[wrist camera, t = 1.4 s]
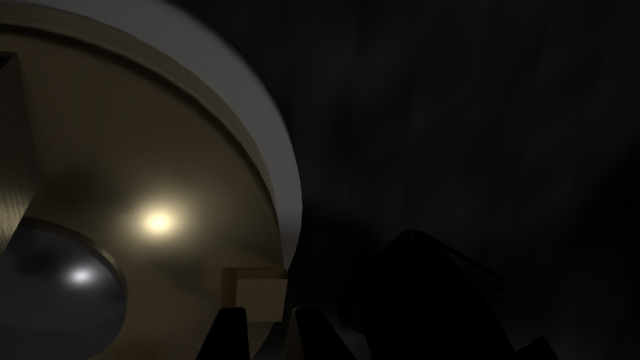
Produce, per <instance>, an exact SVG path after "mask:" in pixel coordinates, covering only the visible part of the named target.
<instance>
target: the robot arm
mask: <svg viewBox="0 0 640 360" xmlns="http://www.w3.org/2000/svg"><path fill="white" fill-rule="evenodd" d="M421 244H424V245H423V246H420V245H421ZM506 288H507V285H506V283H505V282H504V280H503V279H502V278H501V277H500V276H498V275H496V274H494V273H493V272H491V271H489V270H487V269H486V268H484V267H482V266H481V265H479V264H477V263H475V262H474V261H472V260H470V259H468V258H467V257H465V256H463V255H462V254H460V253H458V252H456V251H455V250H453V249H451V248H449V247H448V246H446V245H444V244H442V243H441V242H439V241H437V240H436V239H434V238H432V237H430V236H429V235H426V234H420V235H417V236H416V237H414V238H413V239H412V240H411V241H410V242H409V243H408V244H407V245H406V246H405V247H404V248H403V249H402V250H401V251H400V252H399V253H398V254H397V255H396V256H395V257H394V258H393V259H391V260H390V261H389V262H388V263H387V264H386V265H385V266H384V267H383V268H382V269H381V270H380V271H379V272H378V273H377V274H376V275H375V276H374V277H373V278H372V279H371V280H370V281H369V282H368V283H367V284H366V285H365V286H364V287H363V288H362V289H361V290H360V291H359V292H358V293H357V294H356V295H355V296H354V297H353V298H352V299H351V300H350V301H349V302H348V303H347V304H346V305H345V306H344V307H343V308H342V309H341V310H340V311H339V312H338V318H339V322H340V324H342V325H343V326H346V327H348V328H351V329H353V330H355V331H358V332H360V333H363V334H365V337H366V341H367V344H368V348H369V352H370V355H371V359H372V360H559V359H558V357H557V356H556V354H555V353H554V351H553V350H552V348H551V347H550V345H549V343H548V342H547V340H546V339H545V337H544V336H541V337H539V338H537V339H535V340H533V341H531V342H532V344H530V345H528V346H526V347H524V348H522V349H519V350H517V351H515V350H514V349H513V347H512V345H511V343H510V341H509V340H508V338H507V336H506V334H505V332H504V331H503V329H502V327H501V325H500V323H499V322H498V320H497V318H496V316H495V314H494V313H493V311H492V309H491V307H490V305H489V304H491V303H492V302H493V301H494V300H495V299H496V298H498V297H499V296H500V295H501V294H502V293H504V291H505V290H506ZM347 316H348V317H347ZM285 353H286V360H357V359H356V358H355V356H354V355H353V354H352V352H351V351H350V350H349V348H348V347H347V346H346V344H345V343H344V342H343V340H342V339H341V338H340V336H339V335H338V334H337V332H336V331H335V330H334V328H333V327H332V325H331V324H330V323H329V321H328V320H327V319H326V317H325V316H324V315H323V313H322V312H321V311H320V310H319V309H318V308H316V307H296V308H294V309H293V311H292V314H291V319H290V324H289V329H288V333H287V338H286V349H285ZM195 360H250V353H249V341H248V328H247V315H246V310H245V308H244V307H241V306H224V307H221V308H220V309H219V310H218V312H217V314H216V316H215V318H214V321H213V323H212V325H211V327H210V329H209V331H208V333H207V335H206V337H205V339H204V342H203V344H202V346H201V348H200V350H199V352H198V354H197V356H196V358H195Z"/></svg>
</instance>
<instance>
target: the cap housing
mask: <svg viewBox="0 0 640 360" xmlns="http://www.w3.org/2000/svg"><path fill="white" fill-rule="evenodd" d="M0 3H9V4H18V5H25V6H31V7H38V8H44V9H51V10H56V11H60V12H63V13H67V14H71V15H74V16H78V17H82V18H86V19H89V20H93V21H96V22H98V23H101V24H103V25H106V26H108V27H111V28H114V29H116V30H119V31H121V32H124V33H126V34H129V35H131V36H133V37H135V38H137V39H139V40H141V41H143V42H144V43H146V44H148V45H150V46H152V47H154V48H156V49H158V50H160V51H161V52H163V53H165V54H167V55H168V56H170V57H171V58H172V59H174V60H175V61H177V62H178V63H180V64H181V65H183V66H184V67H186V68H187V69H188V70H190V71H191V72H193V73H194V74H195V75H197V76H198V77H199V78H200V79H201V80H202V81H203V82H205V83H206V84H207V85H208V86H209V87H210V88H211V89H212V90H214V91H215V92H216V93H217V94H218V95H219V96H220V97H221V98H222V99H223V100H224V101H225V102H226V104H227V105H228V106H229V107H230V108H231V109H232V110H233V112H234V113H235V114H236V115H237V116H238V117H239V118H240V120H241V121H242V123H243V124H244V126H245V127H246V129H247V130H248V132H249V133H250V135H251V136H252V138H253V139H254V141H255V142H256V144H257V146H258V148H259V150H260V153H261V155H262V157H263V159H264V161H265V163H266V165H267V168H268V171H269V175H270V178H271V181H272V185H273V188H274V193H275V201H276V208H277V215H278V223H279V230H280V238H281V245H282V253H283V261H284V268H286V270H287V271H288V269H289V266H290V264H291V261H292V259H293V256H294V254H295V251H296V247H297V243H298V239H299V234H300V230H301V218H302V196H301V186H300V178H299V173H298V168H297V164H296V159H295V154H294V150H293V146H292V142H291V138H290V135H289V131H288V127H287V125H286V122H285V120H284V118H283V115H282V113H281V110H280V108H279V106H278V103H277V101H276V100H275V98H274V96H273V95H272V93H271V91H270V90H269V88H268V86H267V85H266V83H265V81H264V80H263V78H262V76H261V75H260V74H259V73H258V71H257V70H256V69H255V68H254V66H253V65H252V64H251V63H250V61H249V60H248V59H247V58H246V56H245V55H244V54H243V53H242V51H241V50H240V49H239V48H238V47H237V46H236V45H235V44H234V43H232V42H231V41H230V40H229V39H228V38H227V37H226V36H225V35H224V34H223V33H222V32H221V31H220V30H219V29H218V28H217V27H216V26H214V25H213V24H212V23H211V22H209V21H208V20H207V19H205V18H204V17H203V16H201V15H200V14H199V13H197V12H196V11H195V10H193V9H192V8H191V7H189V6H188V5H187V4H185V3H183V2H181V1H180V0H0Z"/></svg>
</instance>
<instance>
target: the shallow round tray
mask: <svg viewBox="0 0 640 360" xmlns="http://www.w3.org/2000/svg"><path fill="white" fill-rule="evenodd" d="M287 281H288V277H287V270H286V268H284V261H283V253H282V245H281V238H280V230H279V223H278V215H277V208H276V201H275V193H274V188H273V185H272V181H271V178H270V175H269V171H268V168H267V165H266V163H265V161H264V159H263V157H262V155H261V153H260V150H259V148H258V146H257V144H256V142H255V141H254V139H253V138H252V136H251V135H250V133H249V132H248V130H247V129H246V127H245V126H244V124H243V123H242V121H241V120H240V118H239V117H238V116H237V115H236V114H235V113H234V112H233V110H232V109H231V108H230V107H229V106H228V105H227V104H226V102H225V101H224V100H223V99H222V98H221V97H220V96H219V95H218V94H217V93H216V92H215V91H214V90H212V89H211V88H210V87H209V86H208V85H207V84H206V83H205V82H203V81H202V80H201V79H200V78H199V77H198V76H197V75H195V74H194V73H193V72H191V71H190V70H188V69H187V68H186V67H184V66H183V65H181V64H180V63H178V62H177V61H175V60H174V59H172V58H171V57H170V56H168V55H167V54H165V53H163V52H161V51H160V50H158V49H156V48H154V47H152V46H150V45H148V44H146V43H144V42H143V41H141V40H139V39H137V38H135V37H133V36H131V35H129V34H126V33H124V32H121V31H119V30H116V29H114V28H111V27H108V26H106V25H103V24H101V23H98V22H96V21H93V20H89V19H86V18H82V17H78V16H74V15H71V14H67V13H63V12H60V11H56V10H51V9H44V8H38V7H31V6H25V5H18V4H9V3H0V360H195V358H196V356H197V354H198V352H199V350H200V348H201V346H202V344H203V342H204V339H205V337H206V335H207V333H208V331H209V329H210V327H211V325H212V323H213V321H214V318H215V316H216V314H217V312H218V310H219V309H220V308H221V307H224V306H241V307H244V308H245V310H246V315H247V328H248V341H249V353H250V359H251V358H252V357H253V356H254V354H255V353H256V352H257V351H258V350H259V348H260V347H261V345H262V343H263V342H264V340H265V339H266V337H267V335H268V334H269V332H270V330H271V328H272V325H273V323H274V322H282V316H283V309H284V302H285V295H286V288H287Z"/></svg>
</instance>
